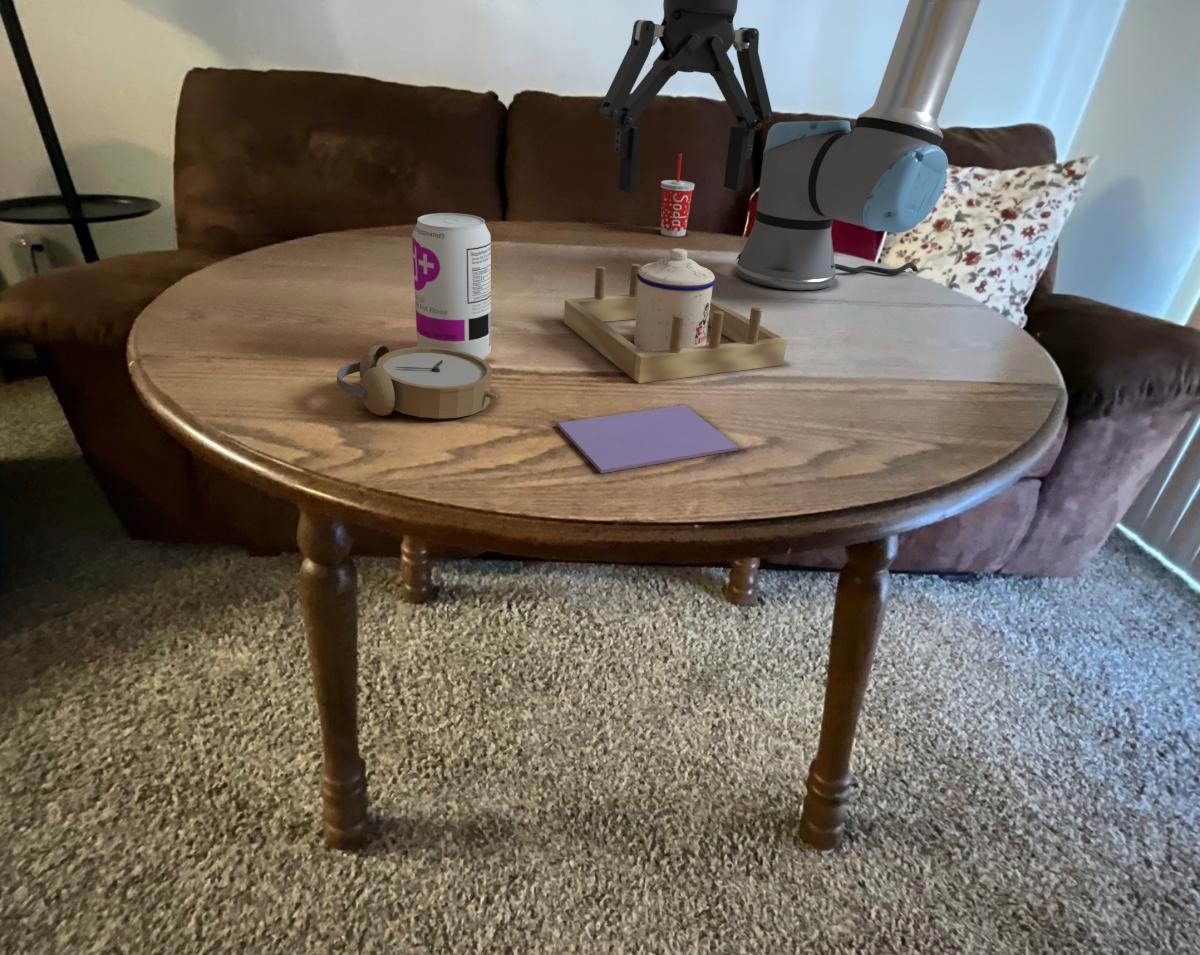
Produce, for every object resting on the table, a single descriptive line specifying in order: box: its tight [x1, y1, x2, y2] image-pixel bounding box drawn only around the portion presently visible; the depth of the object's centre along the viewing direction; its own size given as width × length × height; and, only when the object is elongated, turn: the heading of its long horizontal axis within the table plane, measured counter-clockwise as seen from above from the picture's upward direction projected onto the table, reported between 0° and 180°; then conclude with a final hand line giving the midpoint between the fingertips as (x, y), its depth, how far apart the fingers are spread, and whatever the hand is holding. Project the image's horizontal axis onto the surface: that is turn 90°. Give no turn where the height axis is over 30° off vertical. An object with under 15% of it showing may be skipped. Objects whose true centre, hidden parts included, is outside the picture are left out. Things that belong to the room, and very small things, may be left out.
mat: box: [557, 404, 739, 474], centre depth 79 cm, size 14×10×1 cm
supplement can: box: [411, 212, 492, 361], centre depth 92 cm, size 8×8×15 cm
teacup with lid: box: [633, 247, 716, 353], centre depth 101 cm, size 12×9×12 cm
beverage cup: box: [660, 153, 695, 237], centre depth 154 cm, size 6×6×14 cm
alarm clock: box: [336, 344, 498, 420], centre depth 83 cm, size 11×5×15 cm
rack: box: [563, 263, 788, 384], centre depth 102 cm, size 19×21×7 cm
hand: (681, 190), depth 95 cm, fingers open, 13 cm apart
